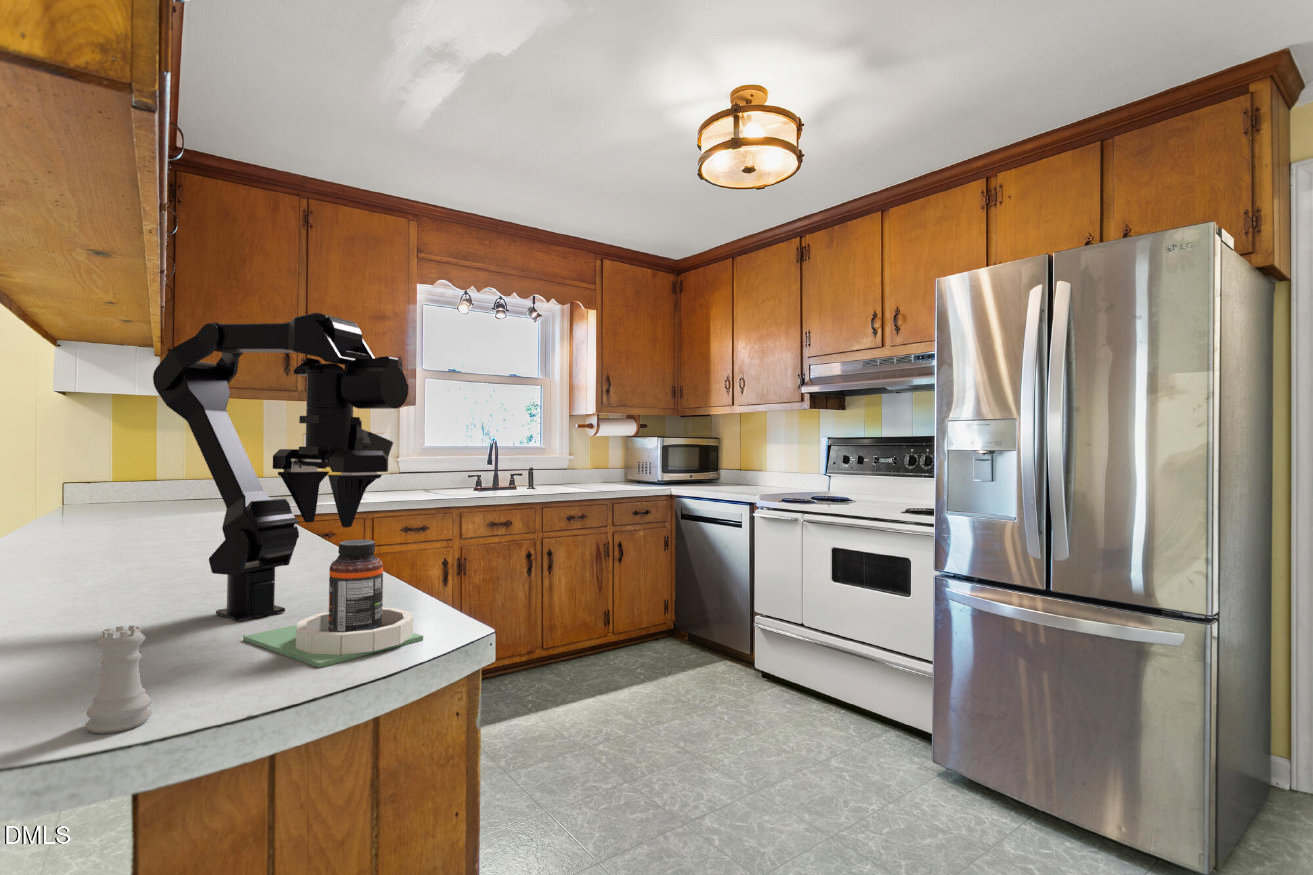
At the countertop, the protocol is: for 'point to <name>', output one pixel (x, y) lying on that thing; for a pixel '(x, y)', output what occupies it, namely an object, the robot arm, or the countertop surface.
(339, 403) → the robot arm
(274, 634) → the putting mat
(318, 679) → the countertop surface
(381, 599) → the supplement bottle
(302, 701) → the countertop surface
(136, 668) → the rook chess piece
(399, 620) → the round cream tray
